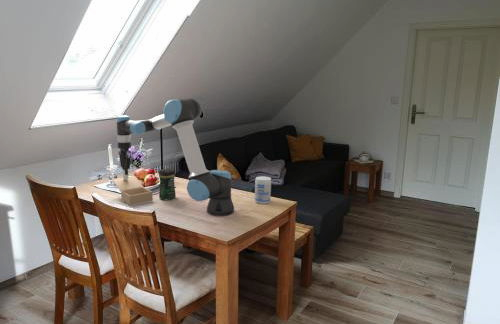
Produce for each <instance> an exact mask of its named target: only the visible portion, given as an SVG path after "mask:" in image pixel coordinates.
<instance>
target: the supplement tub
mask: <svg viewBox="0 0 500 324" xmlns="http://www.w3.org/2000/svg"><path fill="white" fill-rule="evenodd" d="M254 183H255V184H254V202H255V203H257V204H259V203H260V205H261V204H262V205H265V204H269V203H271V195H272V193H271V192H272V178H271V177H269V176H264V175H263V176H256V177H255V181H254Z"/></svg>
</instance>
